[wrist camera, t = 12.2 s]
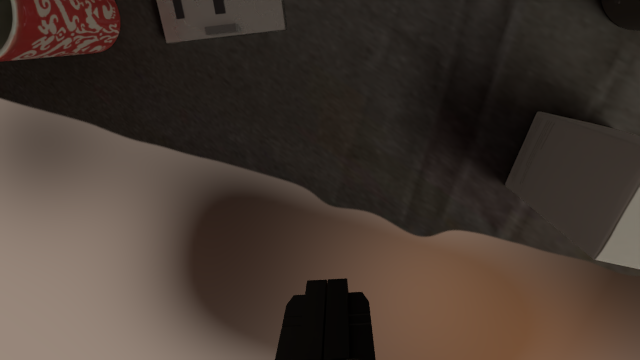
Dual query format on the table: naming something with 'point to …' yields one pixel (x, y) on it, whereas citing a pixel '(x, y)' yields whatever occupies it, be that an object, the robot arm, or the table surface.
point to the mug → (56, 27)
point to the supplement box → (583, 184)
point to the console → (219, 18)
